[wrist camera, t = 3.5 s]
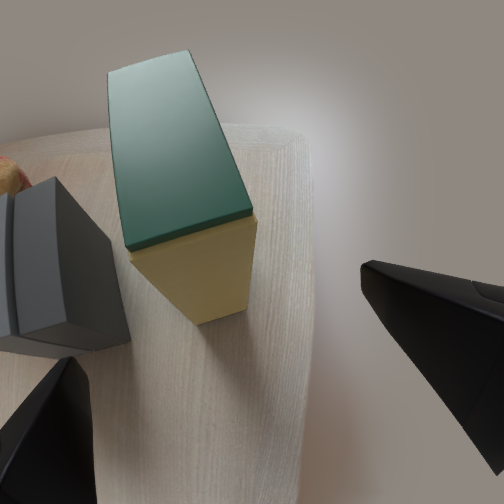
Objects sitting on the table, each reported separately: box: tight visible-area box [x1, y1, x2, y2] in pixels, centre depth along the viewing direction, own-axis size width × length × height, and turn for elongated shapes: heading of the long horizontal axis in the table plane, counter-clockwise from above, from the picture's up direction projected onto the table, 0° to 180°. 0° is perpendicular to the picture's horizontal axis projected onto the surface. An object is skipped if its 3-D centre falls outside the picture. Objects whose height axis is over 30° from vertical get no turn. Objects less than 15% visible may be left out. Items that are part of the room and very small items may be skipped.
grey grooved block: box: [0, 177, 131, 359], centre depth 17 cm, size 8×6×10 cm
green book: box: [107, 50, 257, 325], centre depth 16 cm, size 8×4×14 cm, turn 19°
